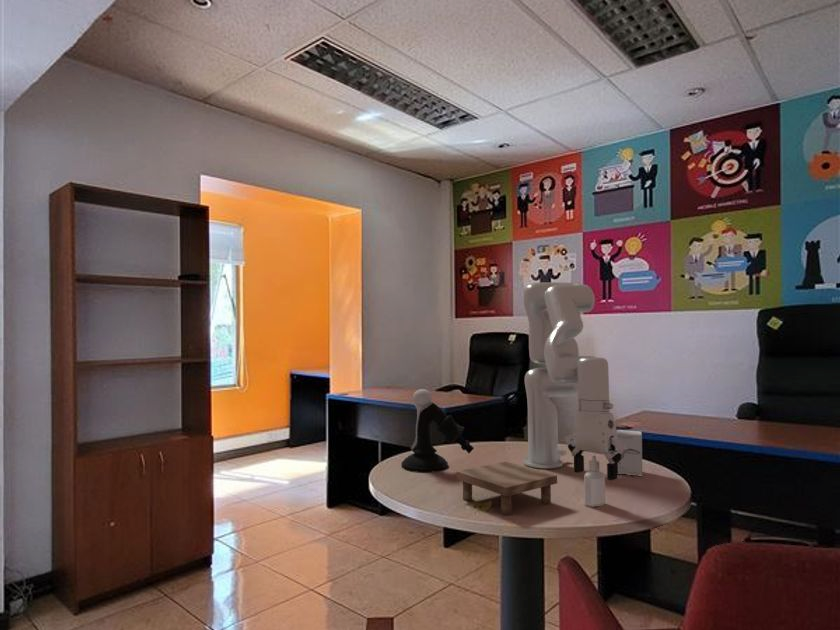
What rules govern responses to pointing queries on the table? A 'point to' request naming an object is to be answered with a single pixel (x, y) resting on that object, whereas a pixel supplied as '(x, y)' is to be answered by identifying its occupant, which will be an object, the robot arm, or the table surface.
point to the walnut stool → (507, 482)
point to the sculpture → (424, 450)
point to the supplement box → (630, 452)
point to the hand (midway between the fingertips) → (595, 475)
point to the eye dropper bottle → (594, 485)
